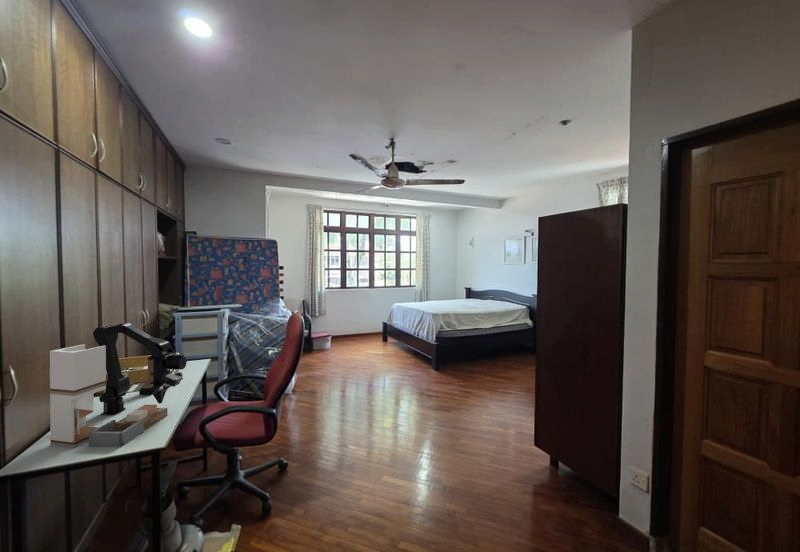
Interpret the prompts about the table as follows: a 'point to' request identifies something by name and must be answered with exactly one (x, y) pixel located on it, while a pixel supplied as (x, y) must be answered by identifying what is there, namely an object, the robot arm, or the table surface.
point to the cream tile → (136, 415)
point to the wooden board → (148, 420)
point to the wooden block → (150, 369)
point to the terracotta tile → (148, 408)
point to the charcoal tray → (114, 434)
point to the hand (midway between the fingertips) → (160, 403)
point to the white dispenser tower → (74, 392)
